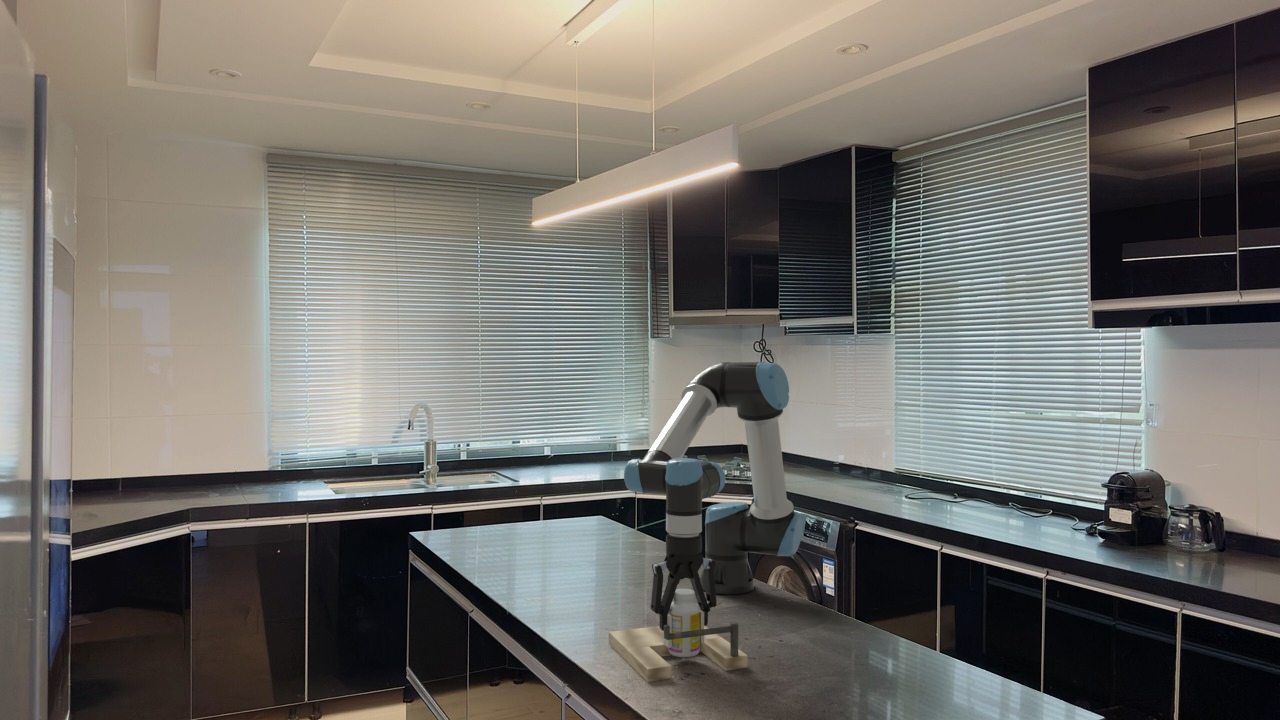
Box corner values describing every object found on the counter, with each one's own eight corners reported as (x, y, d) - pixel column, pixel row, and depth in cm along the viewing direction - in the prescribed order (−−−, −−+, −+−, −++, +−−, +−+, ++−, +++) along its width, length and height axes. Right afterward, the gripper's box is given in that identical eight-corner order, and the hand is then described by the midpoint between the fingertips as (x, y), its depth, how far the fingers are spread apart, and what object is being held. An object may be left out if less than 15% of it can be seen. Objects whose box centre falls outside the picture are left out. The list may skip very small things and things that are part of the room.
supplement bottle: (698, 647, 181) (698, 586, 181) (701, 658, 174) (701, 595, 174) (666, 647, 181) (666, 587, 181) (668, 658, 174) (669, 595, 174)
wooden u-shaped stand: (698, 632, 197) (698, 588, 197) (747, 667, 174) (747, 617, 174) (608, 643, 189) (608, 597, 189) (647, 681, 167) (647, 629, 167)
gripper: (718, 526, 184) (718, 632, 185) (633, 533, 178) (633, 643, 178) (734, 533, 177) (734, 643, 178) (646, 540, 171) (646, 655, 171)
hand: (683, 643), depth 178 cm, fingers closed on supplement bottle, 7 cm apart
